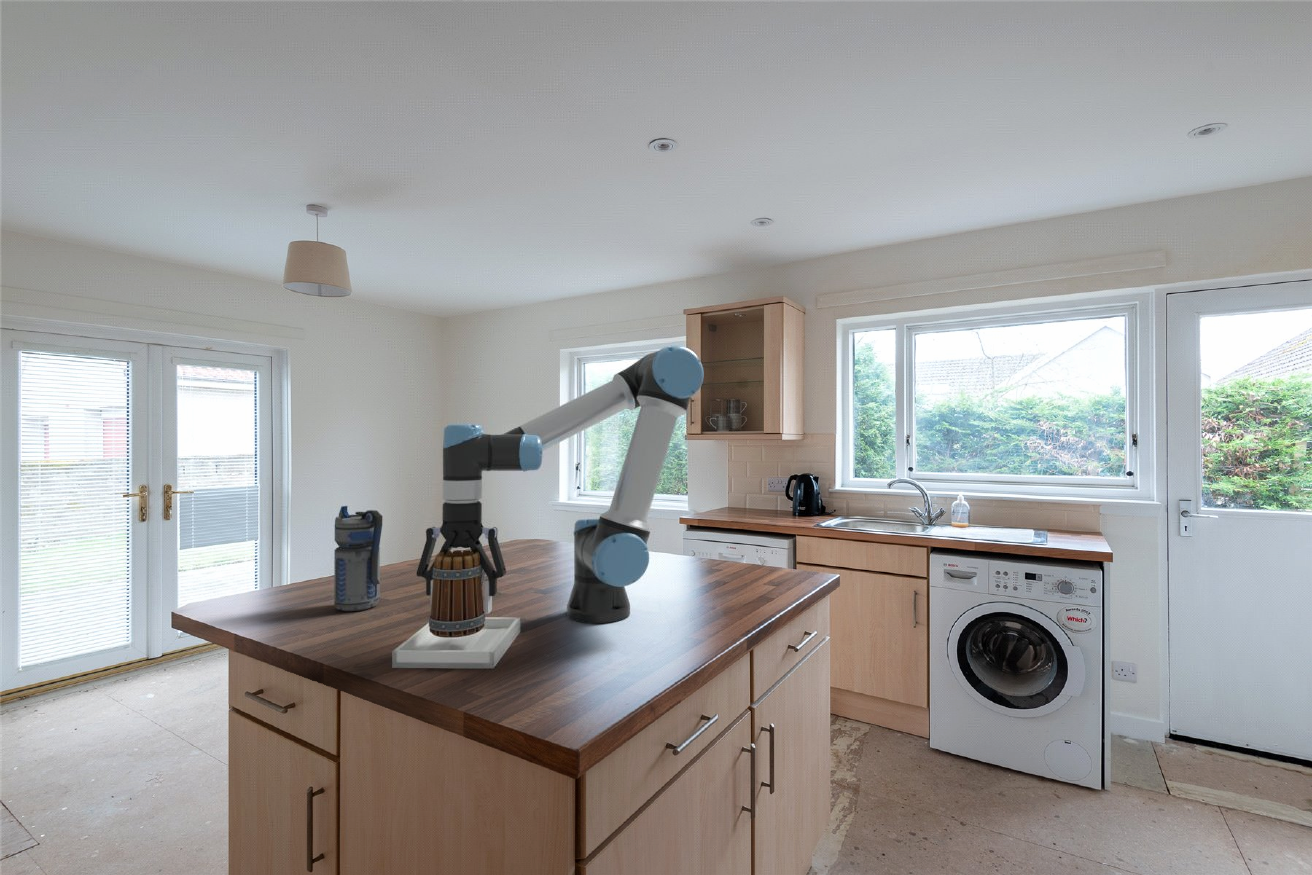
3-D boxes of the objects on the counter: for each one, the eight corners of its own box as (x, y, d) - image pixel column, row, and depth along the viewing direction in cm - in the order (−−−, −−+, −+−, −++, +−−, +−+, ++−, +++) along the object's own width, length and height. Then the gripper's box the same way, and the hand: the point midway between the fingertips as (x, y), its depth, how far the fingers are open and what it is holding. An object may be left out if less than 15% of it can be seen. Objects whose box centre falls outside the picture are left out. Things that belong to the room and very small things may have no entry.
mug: (468, 640, 114) (468, 559, 114) (417, 636, 117) (417, 557, 117) (505, 616, 130) (505, 545, 130) (459, 613, 132) (459, 543, 132)
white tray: (520, 631, 134) (520, 617, 134) (493, 668, 112) (493, 651, 112) (435, 630, 134) (435, 617, 134) (392, 667, 113) (392, 651, 113)
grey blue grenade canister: (362, 615, 145) (363, 510, 145) (322, 609, 150) (322, 507, 150) (395, 605, 155) (396, 506, 155) (357, 599, 160) (357, 503, 160)
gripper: (522, 499, 127) (521, 607, 127) (413, 498, 127) (413, 606, 127) (513, 503, 119) (513, 617, 119) (398, 502, 120) (397, 616, 120)
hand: (461, 611), depth 123 cm, fingers closed on mug, 10 cm apart
